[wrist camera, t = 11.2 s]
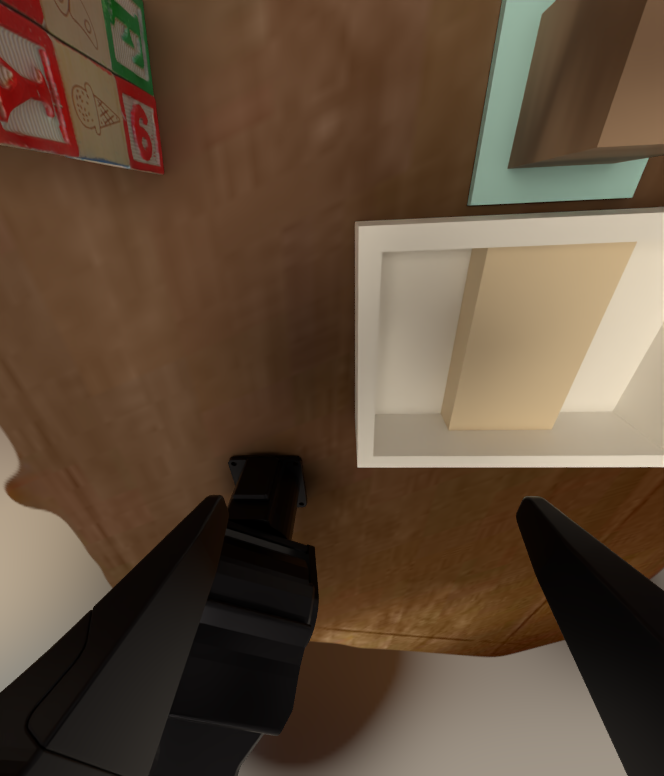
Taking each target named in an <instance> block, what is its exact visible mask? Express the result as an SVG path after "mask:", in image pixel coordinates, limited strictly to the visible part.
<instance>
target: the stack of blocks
mask: <svg viewBox="0 0 664 776" xmlns="http://www.w3.org/2000/svg"><path fill="white" fill-rule="evenodd" d="M0 145H3V146H9V147H15V148H21V149H26V150H32V151H38V152H44V153H50V154H56V155H62V156H65V157H68V158H72V159H77V160H83V161H88V162H93V163H98V164H104V165H109V166H114V167H119V168H125V169H130V170H136V171H142V172H148V173H153V174H159V175H163V174H164V167H163V158H162V150H161V142H160V133H159V126H158V118H157V110H156V101H155V98H154V93H153V85H152V77H151V68H150V60H149V51H148V43H147V34H146V26H145V18H144V8H143V2H142V0H0Z"/></svg>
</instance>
